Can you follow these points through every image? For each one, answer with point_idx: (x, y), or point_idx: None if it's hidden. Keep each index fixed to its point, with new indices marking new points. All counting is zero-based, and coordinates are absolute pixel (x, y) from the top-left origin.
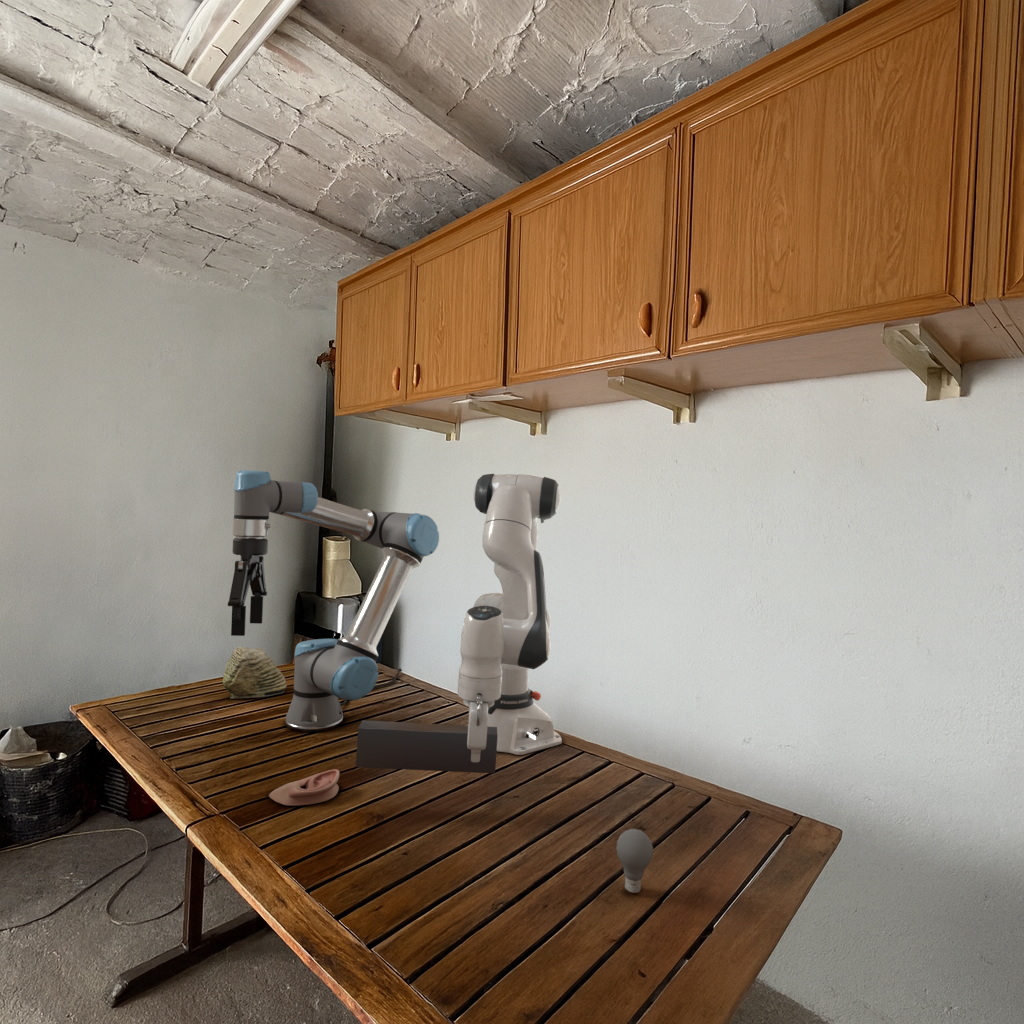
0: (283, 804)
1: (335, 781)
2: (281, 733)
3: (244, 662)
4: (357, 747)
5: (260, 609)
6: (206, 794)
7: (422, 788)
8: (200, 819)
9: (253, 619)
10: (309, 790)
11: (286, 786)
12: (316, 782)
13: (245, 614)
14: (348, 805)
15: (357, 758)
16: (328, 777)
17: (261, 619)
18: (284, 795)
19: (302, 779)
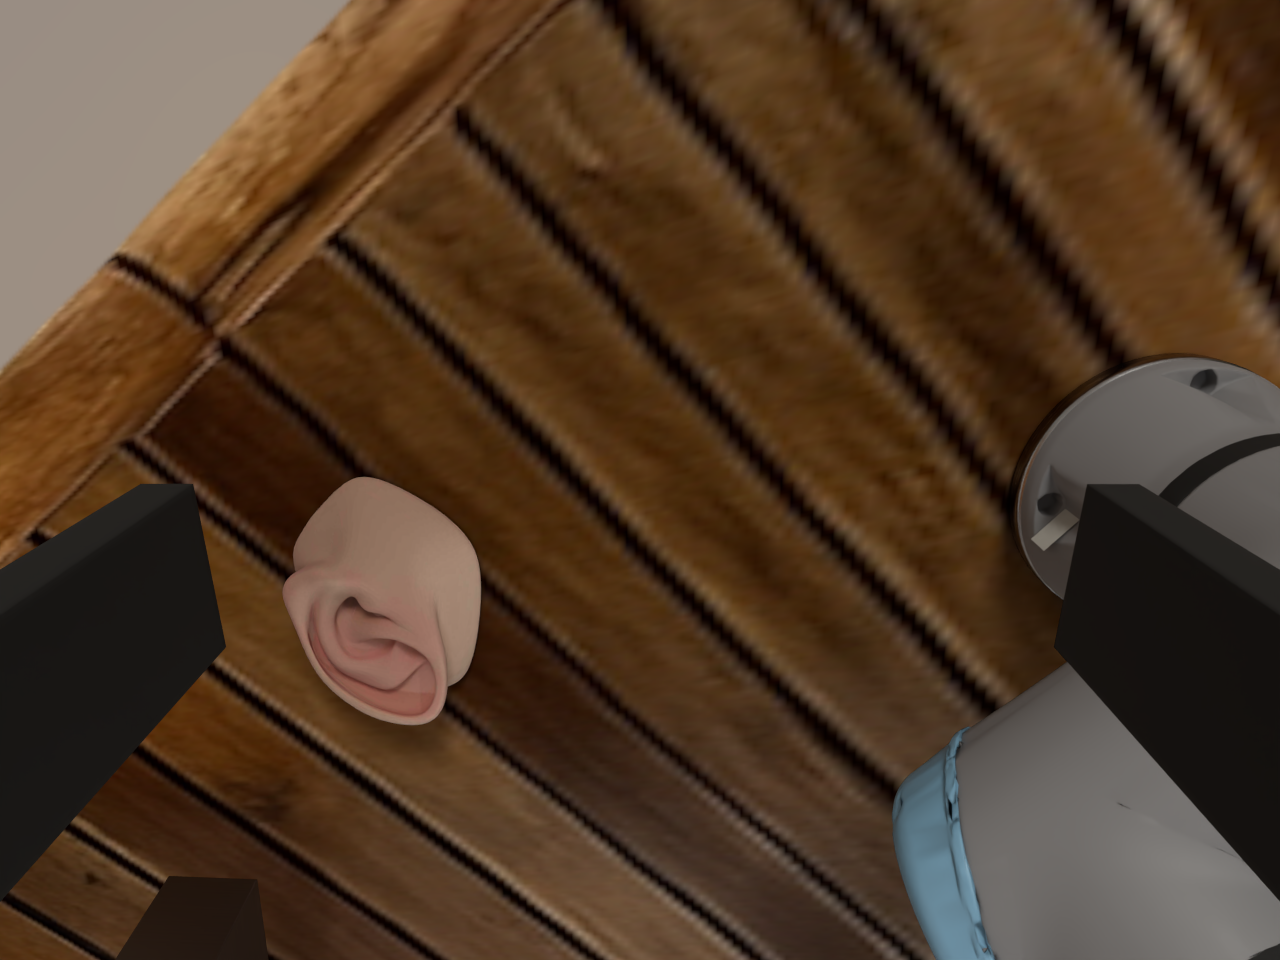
0: (297, 541)
1: (367, 713)
2: (1021, 364)
3: None
4: (126, 944)
5: (1200, 783)
6: (360, 231)
7: (467, 904)
8: (164, 283)
9: (1112, 565)
10: (317, 634)
11: (357, 547)
12: (394, 641)
13: (6, 887)
14: (331, 725)
15: (151, 907)
16: (426, 677)
17: (1087, 683)
18: (322, 543)
19: (400, 596)
